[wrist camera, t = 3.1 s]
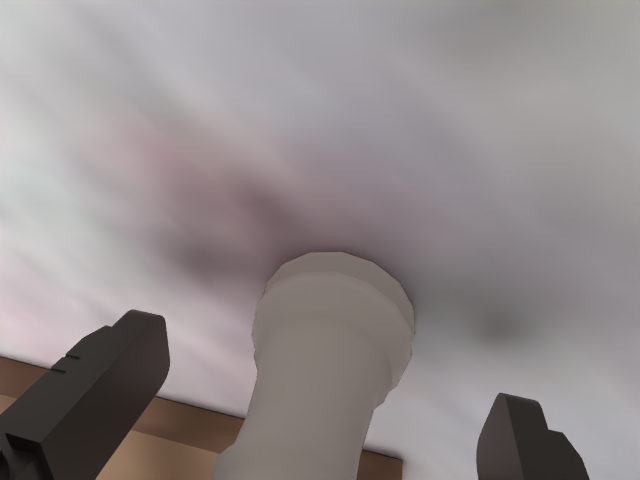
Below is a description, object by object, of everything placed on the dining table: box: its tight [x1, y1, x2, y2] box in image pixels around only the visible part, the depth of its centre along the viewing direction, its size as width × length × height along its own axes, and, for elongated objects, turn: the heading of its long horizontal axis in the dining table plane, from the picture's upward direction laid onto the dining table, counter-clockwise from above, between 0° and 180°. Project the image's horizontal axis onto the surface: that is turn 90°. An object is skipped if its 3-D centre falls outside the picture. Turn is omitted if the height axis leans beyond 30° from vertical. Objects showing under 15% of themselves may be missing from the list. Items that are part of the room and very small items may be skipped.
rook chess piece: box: [212, 252, 415, 480], centre depth 9 cm, size 4×4×8 cm
